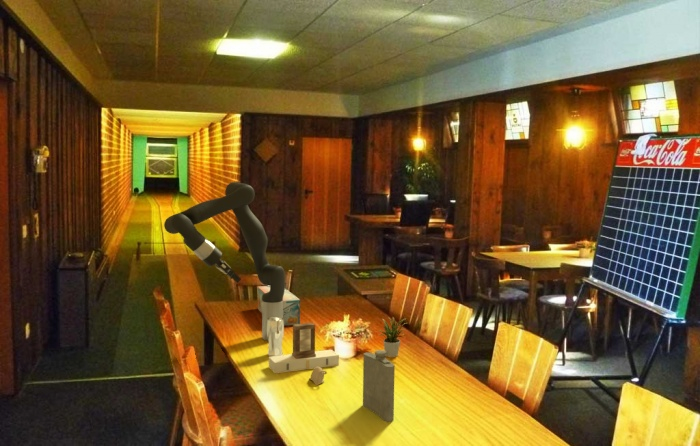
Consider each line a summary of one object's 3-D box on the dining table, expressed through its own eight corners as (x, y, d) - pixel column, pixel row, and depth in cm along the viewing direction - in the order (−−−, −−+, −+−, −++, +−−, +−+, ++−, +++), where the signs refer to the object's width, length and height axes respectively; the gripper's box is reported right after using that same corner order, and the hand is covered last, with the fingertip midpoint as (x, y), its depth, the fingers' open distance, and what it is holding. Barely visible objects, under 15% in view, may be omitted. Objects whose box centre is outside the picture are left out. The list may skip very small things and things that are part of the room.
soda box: (301, 325, 309) (301, 299, 308) (273, 327, 304) (273, 301, 303) (281, 307, 347) (282, 284, 346) (256, 309, 342) (256, 285, 341)
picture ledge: (275, 373, 238) (275, 363, 238) (268, 366, 246) (268, 356, 245) (338, 365, 249) (339, 355, 248) (331, 359, 256) (331, 349, 256)
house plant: (416, 353, 266) (417, 314, 264) (405, 362, 254) (406, 322, 252) (385, 348, 272) (385, 311, 270) (372, 357, 259) (373, 318, 258)
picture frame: (296, 359, 243) (296, 327, 242) (292, 355, 248) (292, 324, 246) (315, 356, 246) (316, 325, 245) (311, 353, 251) (311, 322, 250)
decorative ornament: (319, 377, 235) (319, 363, 234) (328, 385, 227) (328, 370, 226) (309, 379, 233) (309, 365, 232) (317, 386, 225) (317, 371, 225)
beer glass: (280, 357, 258) (280, 321, 256) (264, 356, 259) (264, 320, 257) (285, 352, 264) (286, 317, 263) (269, 351, 266) (270, 316, 264)
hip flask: (361, 405, 209) (361, 345, 207) (371, 402, 210) (372, 344, 209) (386, 422, 195) (388, 359, 193) (397, 420, 197) (399, 357, 195)
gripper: (218, 247, 243) (247, 275, 249) (210, 243, 256) (238, 269, 262) (204, 262, 241) (234, 289, 247) (196, 256, 254) (225, 282, 260)
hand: (236, 279), depth 254 cm, fingers open, 8 cm apart
